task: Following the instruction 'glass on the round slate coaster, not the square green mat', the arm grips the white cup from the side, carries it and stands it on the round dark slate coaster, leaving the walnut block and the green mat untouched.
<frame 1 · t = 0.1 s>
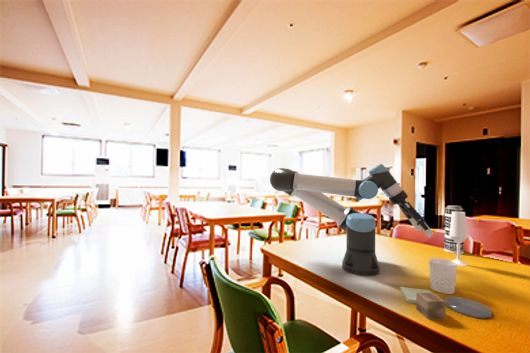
hand: (425, 232, 109), 15 cm above the table, tool tilted 35°, fingers open, 13 cm apart
green mat: (418, 297, 79), on the table
walnut block: (430, 314, 70), on the table
white cup: (442, 290, 85), on the table
slate coaster: (467, 308, 73), on the table
decorative candle: (453, 251, 131), on the table
champagne flute: (458, 263, 112), on the table
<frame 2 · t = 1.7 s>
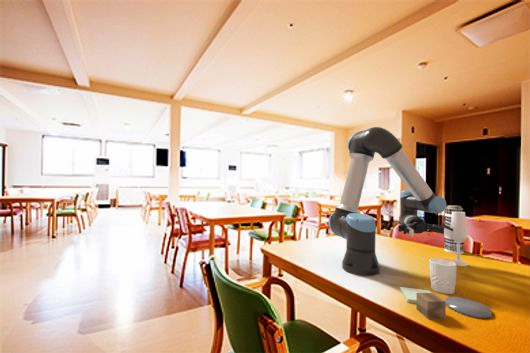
hand: (432, 234, 94), 18 cm above the table, tool horizontal, fingers open, 13 cm apart
nothing on the table moved.
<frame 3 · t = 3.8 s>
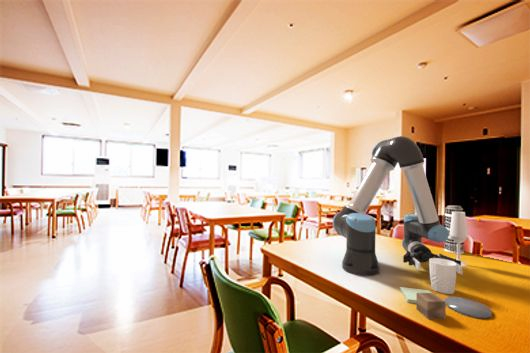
hand: (439, 268, 90), 6 cm above the table, tool horizontal, fingers open, 13 cm apart
nothing on the table moved.
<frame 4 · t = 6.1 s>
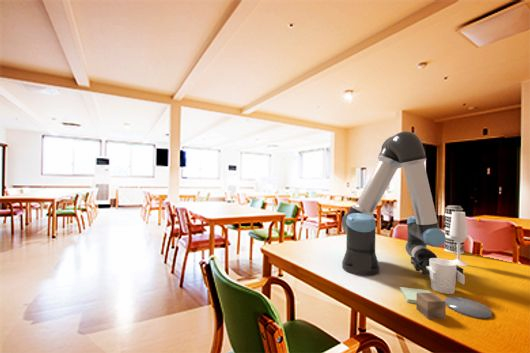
hand: (448, 278, 80), 6 cm above the table, tool horizontal, fingers closed on white cup, 7 cm apart
white cup: (442, 290, 85), on the table, touching gripper
everything else where it was.
when the fingers open (7 cm above the table, at t = 10.8 s): white cup stays where it is, resting on slate coaster.
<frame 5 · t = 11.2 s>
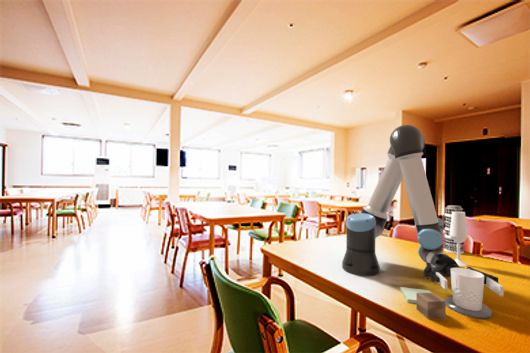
hand: (473, 288, 70), 7 cm above the table, tool horizontal, fingers open, 13 cm apart
white cup: (466, 305, 73), point 1 cm above the table, touching slate coaster
everything else where it was.
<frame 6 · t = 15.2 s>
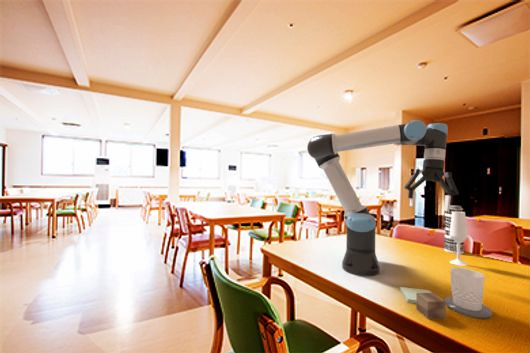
hand: (428, 208, 103), 27 cm above the table, tool pointing down, fingers open, 13 cm apart
nothing on the table moved.
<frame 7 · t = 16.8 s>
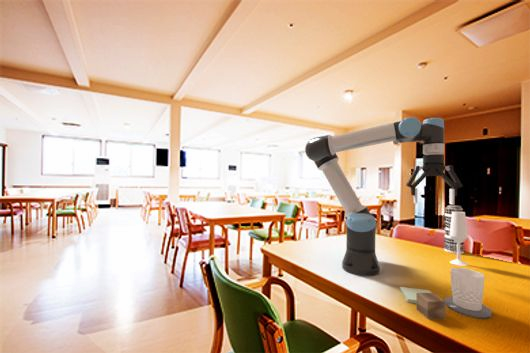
hand: (433, 203, 103), 29 cm above the table, tool pointing down, fingers open, 13 cm apart
nothing on the table moved.
at the end: white cup inside the target area on the slate coaster (0.1 cm from its centre), point 0.6 cm above the slate coaster's base; white cup tilted 0°; walnut block moved 0.1 cm from its start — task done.
